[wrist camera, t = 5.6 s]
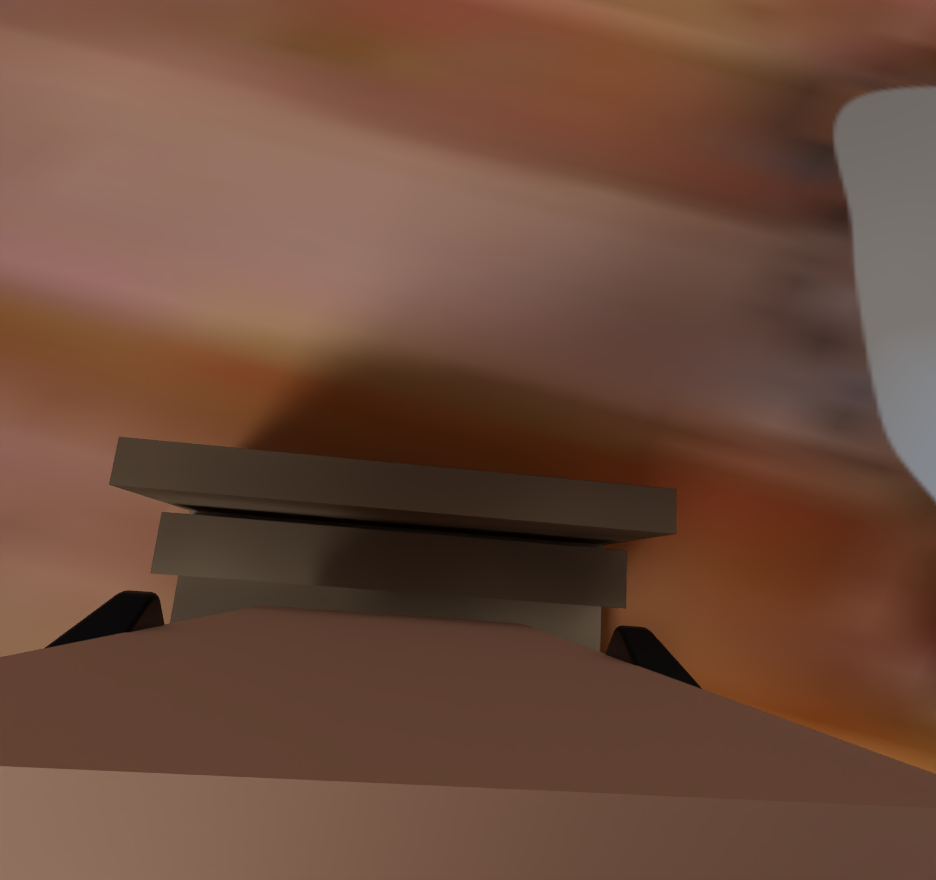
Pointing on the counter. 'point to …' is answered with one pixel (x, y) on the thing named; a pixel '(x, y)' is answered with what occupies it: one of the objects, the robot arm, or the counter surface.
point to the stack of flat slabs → (389, 536)
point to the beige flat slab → (422, 762)
